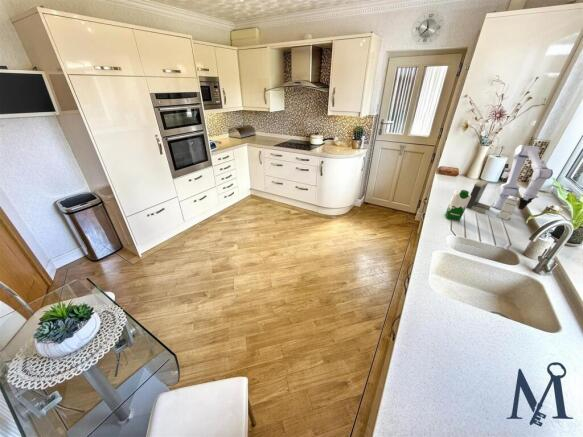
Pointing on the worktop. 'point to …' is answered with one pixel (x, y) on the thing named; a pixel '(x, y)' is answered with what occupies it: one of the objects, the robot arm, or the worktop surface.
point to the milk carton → (458, 205)
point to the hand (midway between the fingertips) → (521, 207)
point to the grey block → (477, 197)
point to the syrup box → (508, 207)
